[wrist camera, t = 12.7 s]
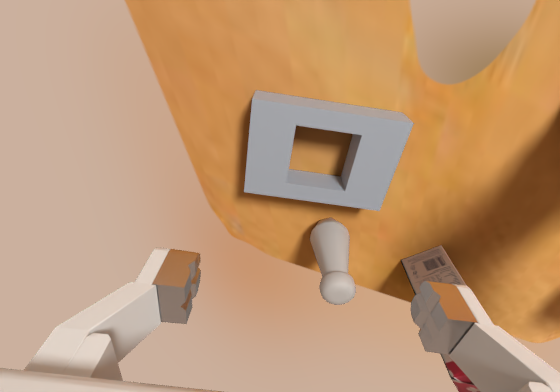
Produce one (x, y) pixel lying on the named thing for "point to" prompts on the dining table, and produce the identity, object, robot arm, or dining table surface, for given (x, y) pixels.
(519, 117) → the dining table surface
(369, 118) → the socket board
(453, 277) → the juice carton
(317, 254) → the salt shaker
